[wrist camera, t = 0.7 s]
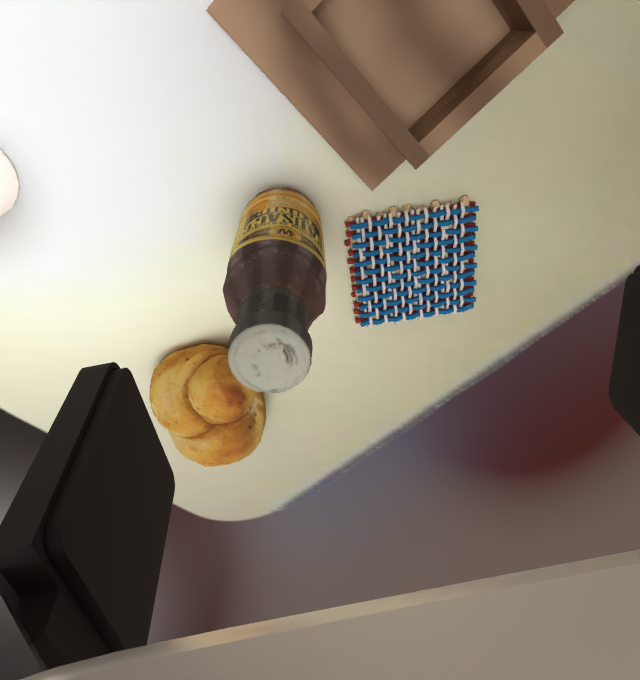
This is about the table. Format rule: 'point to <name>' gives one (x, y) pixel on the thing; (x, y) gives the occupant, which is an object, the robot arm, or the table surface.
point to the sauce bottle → (275, 290)
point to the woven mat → (412, 262)
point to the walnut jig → (390, 66)
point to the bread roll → (206, 406)
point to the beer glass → (7, 184)
